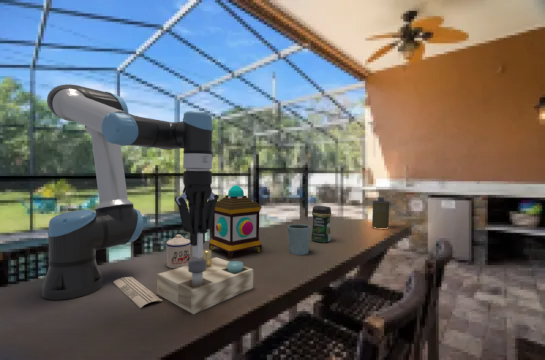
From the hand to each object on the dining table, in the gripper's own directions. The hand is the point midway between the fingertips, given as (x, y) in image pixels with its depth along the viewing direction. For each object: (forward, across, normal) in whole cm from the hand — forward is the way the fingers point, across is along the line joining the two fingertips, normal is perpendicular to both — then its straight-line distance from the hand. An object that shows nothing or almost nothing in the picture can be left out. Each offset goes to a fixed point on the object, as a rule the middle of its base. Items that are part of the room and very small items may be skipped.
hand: (197, 256), depth 79 cm
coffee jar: (+13, +85, +11) cm, 87 cm away
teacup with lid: (+13, +16, +32) cm, 38 cm away
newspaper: (+14, -8, +20) cm, 26 cm away
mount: (+13, +7, +5) cm, 16 cm away
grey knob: (+8, 0, 0) cm, 8 cm away
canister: (+14, +142, 0) cm, 143 cm away
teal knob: (+12, +14, 0) cm, 18 cm away
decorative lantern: (+13, +42, +30) cm, 53 cm away
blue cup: (+13, +60, +8) cm, 62 cm away
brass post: (+7, +10, +9) cm, 15 cm away
